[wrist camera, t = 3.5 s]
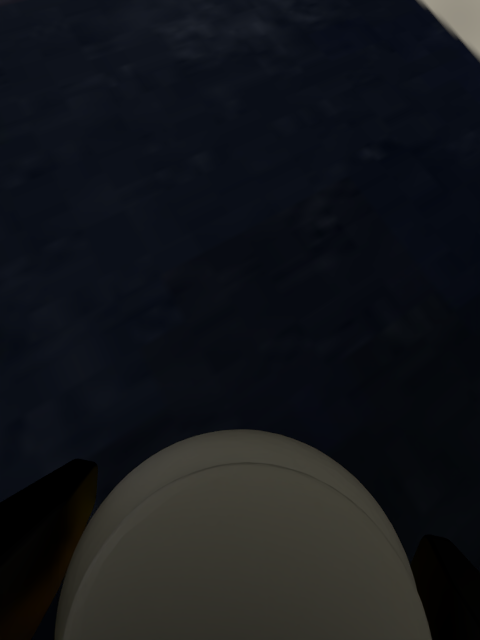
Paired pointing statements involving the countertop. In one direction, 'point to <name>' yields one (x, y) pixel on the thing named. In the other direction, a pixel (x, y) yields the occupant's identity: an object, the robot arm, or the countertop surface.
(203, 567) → the supplement bottle
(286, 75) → the countertop surface
